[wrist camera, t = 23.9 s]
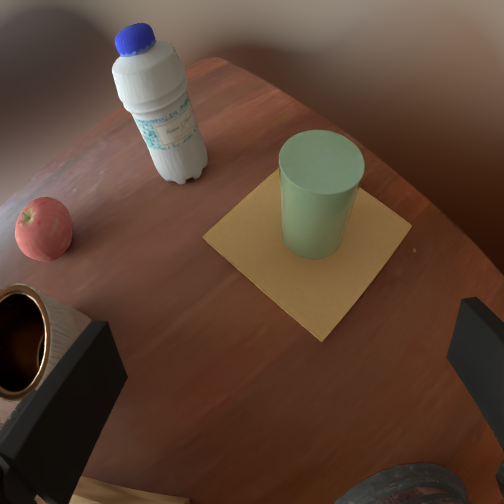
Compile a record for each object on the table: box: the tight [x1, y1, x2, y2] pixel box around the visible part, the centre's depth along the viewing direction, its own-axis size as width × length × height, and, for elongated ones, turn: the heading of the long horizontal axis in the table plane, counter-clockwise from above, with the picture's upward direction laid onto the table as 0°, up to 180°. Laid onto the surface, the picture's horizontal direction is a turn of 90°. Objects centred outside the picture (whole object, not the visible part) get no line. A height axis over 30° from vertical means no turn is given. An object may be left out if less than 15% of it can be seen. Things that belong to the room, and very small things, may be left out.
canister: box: [279, 130, 365, 260], centre depth 27 cm, size 6×6×11 cm
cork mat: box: [202, 168, 412, 342], centre depth 33 cm, size 16×16×1 cm
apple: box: [15, 197, 73, 261], centre depth 32 cm, size 7×7×8 cm
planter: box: [0, 283, 92, 403], centre depth 25 cm, size 11×11×10 cm
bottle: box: [112, 23, 208, 185], centre depth 29 cm, size 7×7×20 cm
